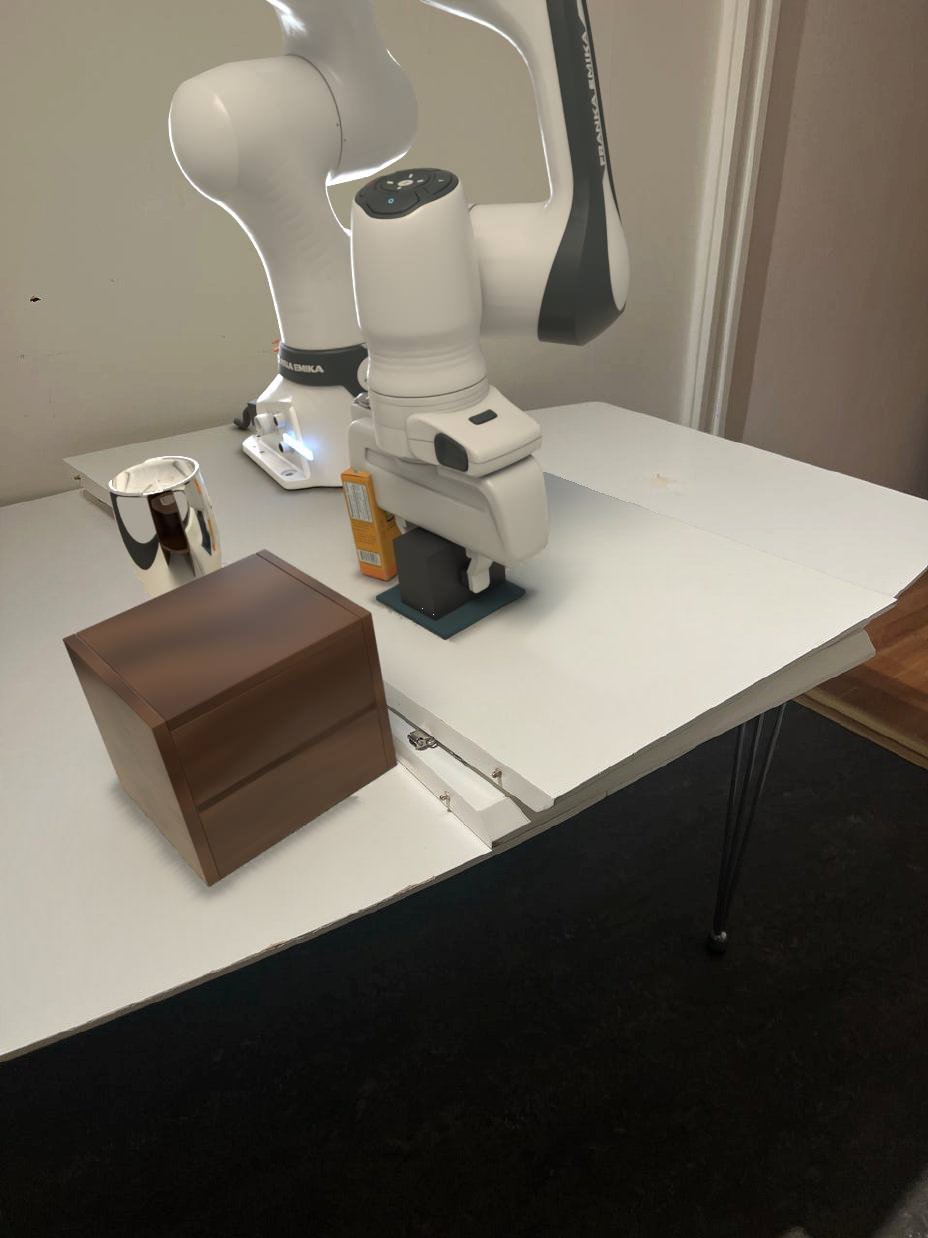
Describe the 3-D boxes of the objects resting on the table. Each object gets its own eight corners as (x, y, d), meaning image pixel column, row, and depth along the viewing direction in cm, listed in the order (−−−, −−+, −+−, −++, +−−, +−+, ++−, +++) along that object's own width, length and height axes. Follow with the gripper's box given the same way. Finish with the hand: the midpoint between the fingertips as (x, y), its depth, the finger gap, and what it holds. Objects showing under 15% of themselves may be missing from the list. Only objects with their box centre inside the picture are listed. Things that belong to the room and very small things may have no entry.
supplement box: (380, 557, 83) (364, 455, 78) (410, 565, 81) (395, 462, 76) (356, 574, 81) (338, 470, 76) (386, 583, 79) (370, 478, 74)
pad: (376, 599, 77) (375, 595, 77) (455, 558, 82) (454, 554, 82) (445, 639, 71) (444, 635, 71) (526, 593, 76) (525, 589, 76)
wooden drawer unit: (121, 786, 60) (61, 638, 54) (298, 689, 68) (264, 548, 61) (208, 887, 52) (151, 728, 46) (397, 764, 60) (372, 612, 53)
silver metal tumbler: (166, 680, 70) (107, 504, 62) (154, 635, 75) (99, 469, 67) (254, 653, 72) (209, 479, 64) (236, 612, 77) (193, 447, 69)
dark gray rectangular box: (401, 602, 76) (391, 539, 72) (471, 564, 80) (465, 503, 77) (435, 621, 73) (427, 556, 70) (506, 581, 77) (502, 518, 74)
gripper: (318, 398, 73) (345, 549, 80) (493, 462, 59) (506, 635, 67) (380, 376, 76) (400, 523, 84) (559, 432, 63) (564, 600, 70)
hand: (449, 574), depth 75 cm, fingers open, 5 cm apart
